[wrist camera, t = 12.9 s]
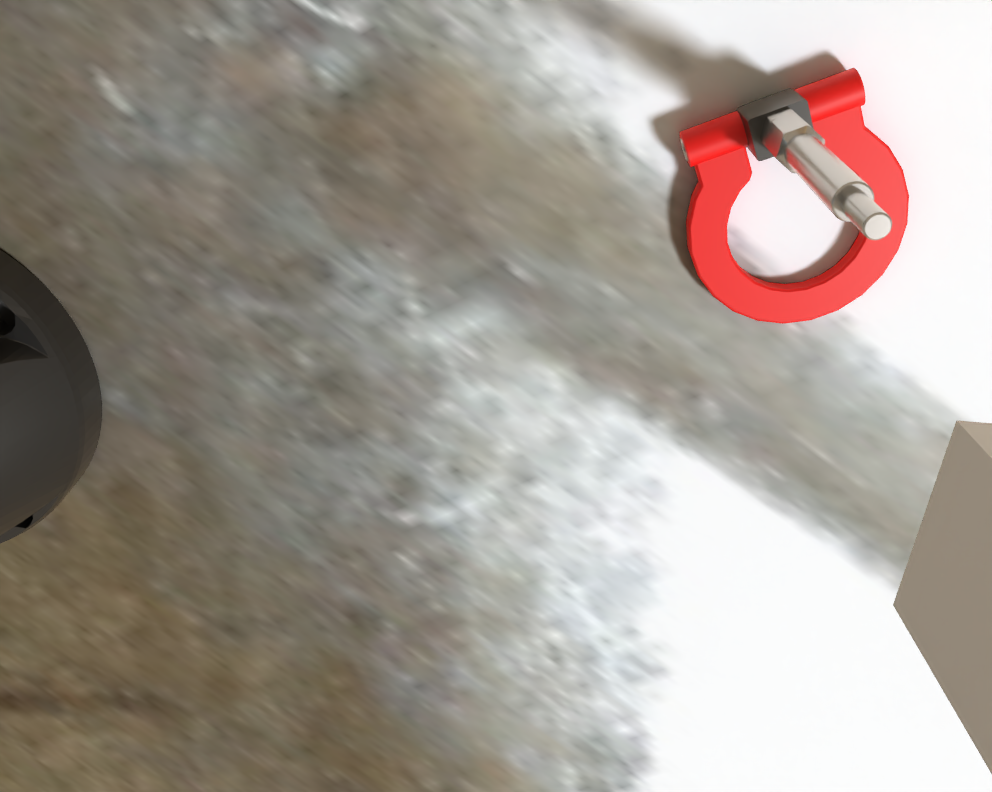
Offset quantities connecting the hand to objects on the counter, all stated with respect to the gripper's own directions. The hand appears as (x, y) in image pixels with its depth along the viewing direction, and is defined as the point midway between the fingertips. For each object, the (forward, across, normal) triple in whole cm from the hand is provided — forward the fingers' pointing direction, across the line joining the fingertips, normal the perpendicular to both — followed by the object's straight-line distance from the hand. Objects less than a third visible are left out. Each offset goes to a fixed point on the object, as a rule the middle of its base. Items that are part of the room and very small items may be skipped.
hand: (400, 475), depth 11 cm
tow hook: (+27, +13, -3) cm, 31 cm away
